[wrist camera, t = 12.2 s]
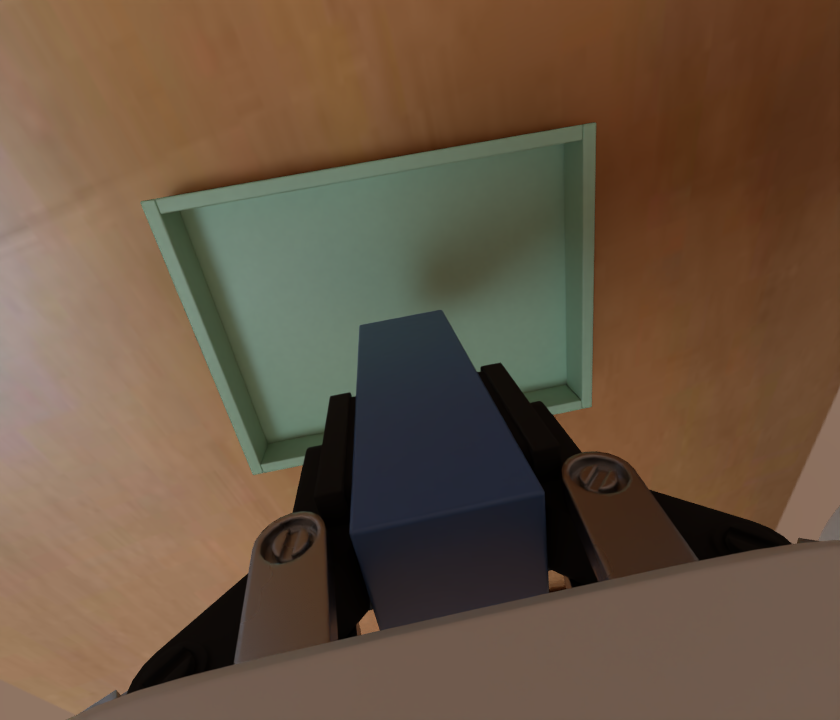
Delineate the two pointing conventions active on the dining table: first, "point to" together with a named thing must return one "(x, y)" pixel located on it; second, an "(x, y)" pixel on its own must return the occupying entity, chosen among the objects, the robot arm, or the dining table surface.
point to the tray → (387, 275)
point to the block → (438, 481)
